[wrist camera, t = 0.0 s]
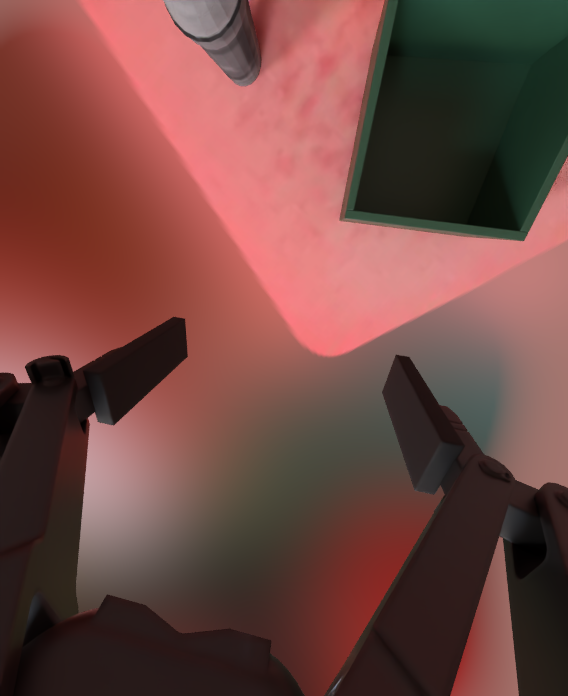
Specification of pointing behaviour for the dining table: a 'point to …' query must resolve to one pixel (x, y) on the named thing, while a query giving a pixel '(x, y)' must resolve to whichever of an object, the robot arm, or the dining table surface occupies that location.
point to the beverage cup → (221, 34)
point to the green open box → (461, 117)
